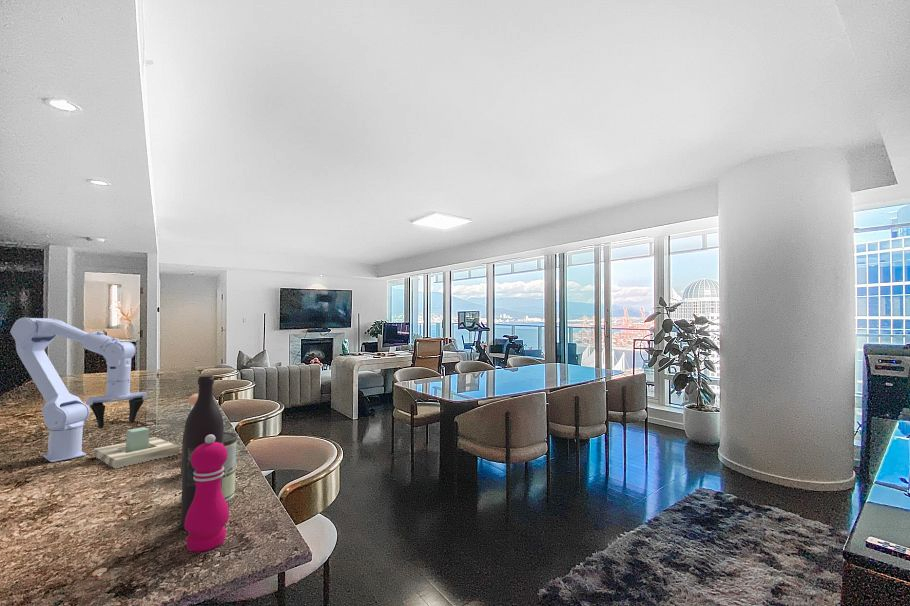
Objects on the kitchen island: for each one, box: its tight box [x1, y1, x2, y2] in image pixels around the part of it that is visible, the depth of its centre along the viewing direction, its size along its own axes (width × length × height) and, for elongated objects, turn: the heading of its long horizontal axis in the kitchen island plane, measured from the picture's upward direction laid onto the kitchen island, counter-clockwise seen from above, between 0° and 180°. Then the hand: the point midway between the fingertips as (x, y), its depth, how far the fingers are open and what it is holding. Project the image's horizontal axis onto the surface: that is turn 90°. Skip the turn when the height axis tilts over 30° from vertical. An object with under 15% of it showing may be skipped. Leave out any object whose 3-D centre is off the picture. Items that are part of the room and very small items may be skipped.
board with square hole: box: [93, 436, 180, 470], centre depth 127 cm, size 18×16×2 cm
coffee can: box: [222, 431, 238, 503], centre depth 97 cm, size 10×10×14 cm
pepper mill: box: [184, 434, 230, 553], centre depth 78 cm, size 7×7×20 cm
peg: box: [125, 426, 150, 453], centre depth 127 cm, size 4×4×8 cm
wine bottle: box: [180, 374, 225, 531], centre depth 85 cm, size 7×7×30 cm
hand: (116, 425), depth 127 cm, fingers open, 7 cm apart
